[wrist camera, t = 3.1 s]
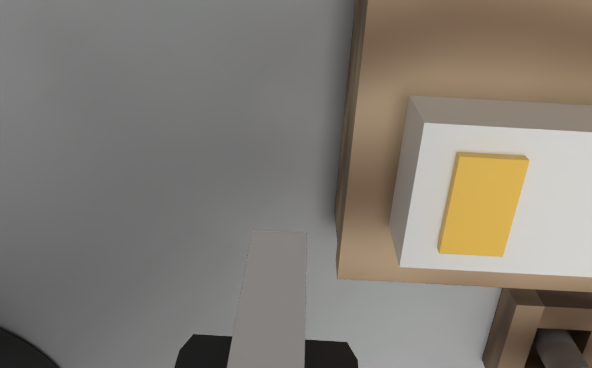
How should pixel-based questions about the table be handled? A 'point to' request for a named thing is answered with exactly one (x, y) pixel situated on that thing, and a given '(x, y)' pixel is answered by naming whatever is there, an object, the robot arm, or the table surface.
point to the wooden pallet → (459, 84)
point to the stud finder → (494, 187)
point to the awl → (558, 349)
